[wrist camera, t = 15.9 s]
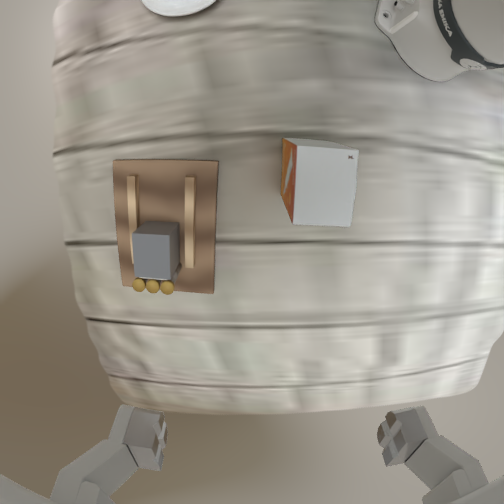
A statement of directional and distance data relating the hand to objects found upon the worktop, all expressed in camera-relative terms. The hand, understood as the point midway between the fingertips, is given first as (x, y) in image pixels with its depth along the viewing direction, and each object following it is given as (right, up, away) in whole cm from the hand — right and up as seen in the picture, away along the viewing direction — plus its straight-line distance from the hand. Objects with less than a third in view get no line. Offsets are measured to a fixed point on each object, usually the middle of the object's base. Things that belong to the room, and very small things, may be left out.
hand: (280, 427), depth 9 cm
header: (-14, +10, +34) cm, 38 cm away
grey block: (-14, +8, +34) cm, 37 cm away
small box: (+6, +18, +31) cm, 36 cm away
